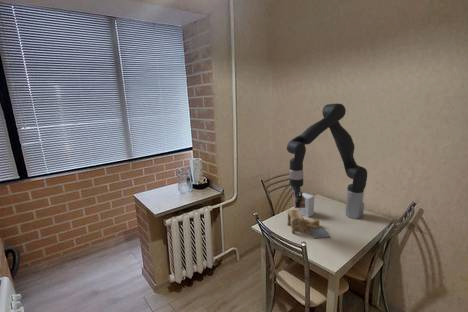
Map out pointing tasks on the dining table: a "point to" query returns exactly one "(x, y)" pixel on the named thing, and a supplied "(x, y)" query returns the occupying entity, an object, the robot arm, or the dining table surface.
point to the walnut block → (302, 204)
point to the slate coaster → (319, 233)
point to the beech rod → (307, 224)
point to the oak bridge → (295, 219)
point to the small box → (307, 205)
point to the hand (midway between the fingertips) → (296, 204)
